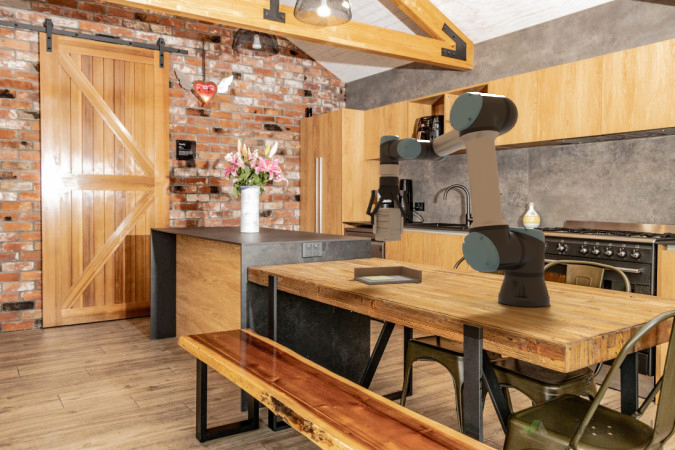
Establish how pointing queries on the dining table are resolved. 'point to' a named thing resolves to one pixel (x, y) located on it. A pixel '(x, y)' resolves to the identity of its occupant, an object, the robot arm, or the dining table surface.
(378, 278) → the pad
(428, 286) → the dining table surface
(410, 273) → the brown tray
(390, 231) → the supplement box
